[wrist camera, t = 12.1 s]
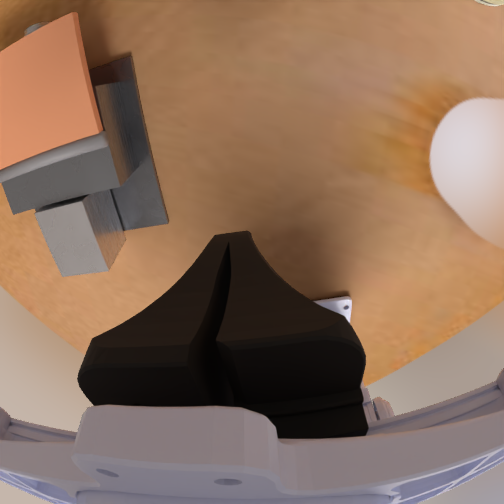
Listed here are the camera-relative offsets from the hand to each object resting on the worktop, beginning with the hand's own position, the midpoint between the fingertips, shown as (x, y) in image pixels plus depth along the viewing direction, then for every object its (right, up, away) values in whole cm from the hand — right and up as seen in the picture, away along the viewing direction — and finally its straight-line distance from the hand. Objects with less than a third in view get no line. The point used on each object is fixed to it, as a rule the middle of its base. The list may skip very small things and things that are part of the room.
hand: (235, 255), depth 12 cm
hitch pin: (-12, +8, +6) cm, 16 cm away
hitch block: (-12, +7, +8) cm, 15 cm away
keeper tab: (-12, +9, +1) cm, 15 cm away
